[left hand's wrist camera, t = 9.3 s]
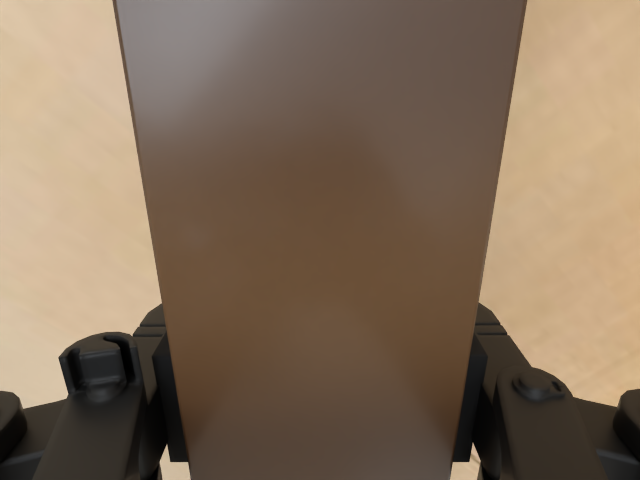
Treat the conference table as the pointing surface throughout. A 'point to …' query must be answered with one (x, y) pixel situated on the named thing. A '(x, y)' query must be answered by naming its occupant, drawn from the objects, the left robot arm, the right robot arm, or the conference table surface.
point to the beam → (320, 221)
